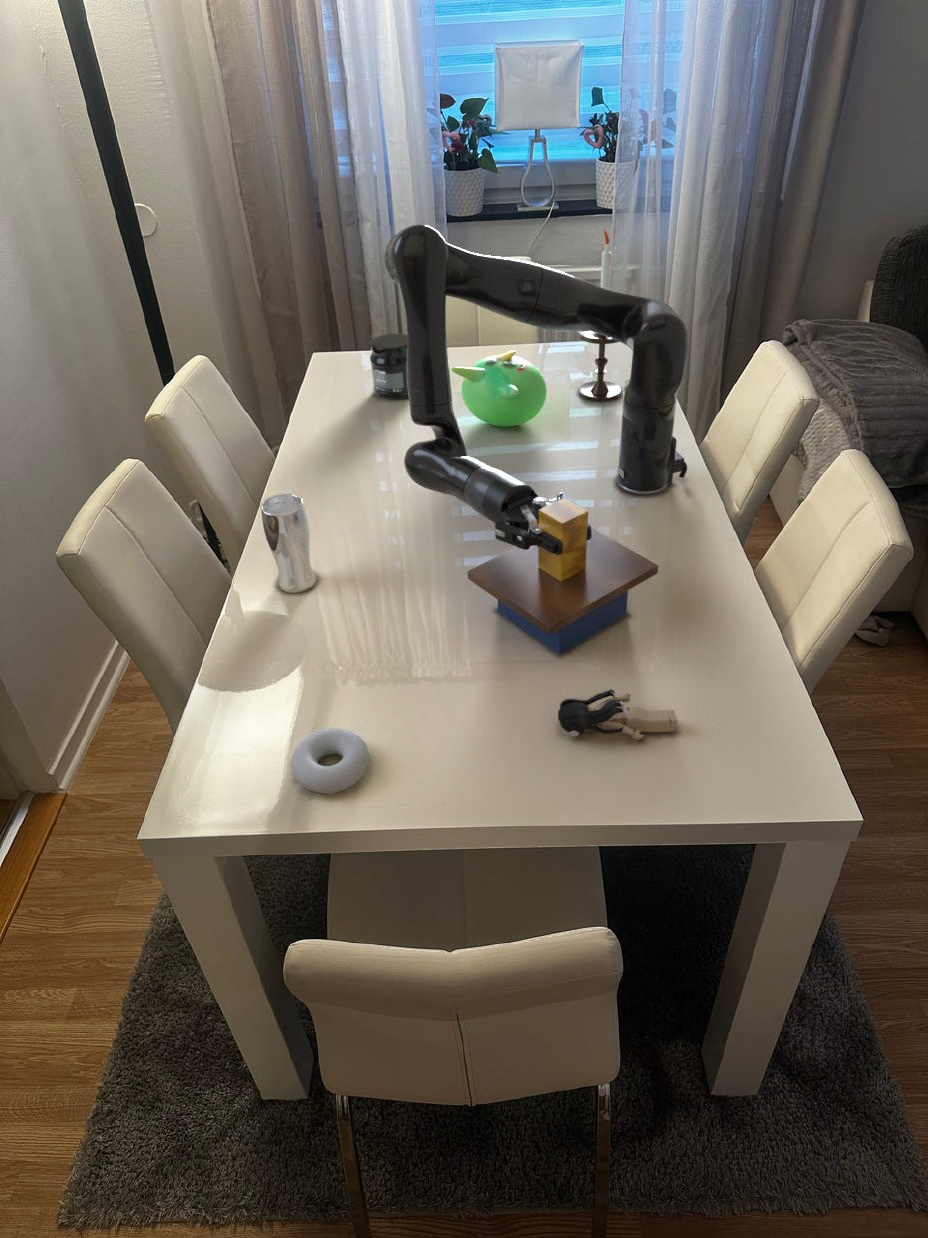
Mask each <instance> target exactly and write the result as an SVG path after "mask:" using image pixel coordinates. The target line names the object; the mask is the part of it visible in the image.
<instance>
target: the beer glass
mask: <svg viewBox="0 0 928 1238" xmlns="http://www.w3.org/2000/svg"><path fill="white" fill-rule="evenodd" d="M304 505H305V504H304V501H303V498H302V497H301V496H299V495H297V494H294V493H279V494H275V495H272V496H270V497H267V498H266V499H264V500H263V501H262V503H261V505H260V511H261V520H262V526H263V533H264V535H265V540H266V542H267V544H268V548H269V549H270V552H271V554H272V556H273V558H274V561H275V563H276V567H277V571H278V572H277V573H278V587H279V589H281V590H282V591H284V592H286V593H290V594H297V593H303V592H305V591H307V590H310V588H312V587H313V586H314V585H315V583H316V575H315V572H314V570H313V567H312V564H311V559H310V545H311V544H310V543H311V541H310V539H311V537H310V527H309V520H308V516H307V512H306V509H305V506H304Z"/></svg>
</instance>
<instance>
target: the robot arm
mask: <svg viewBox="0 0 928 1238" xmlns="http://www.w3.org/2000/svg"><path fill="white" fill-rule="evenodd" d="M383 256H384V258H383V259H384V265H385V269H386V271H387V274H388V275H389V277H390V278H391V280H392V281H393V282H394V283H395V284H396V285H398V286H399V288H400V291H401V297H402V301H403V306H404V311H405V321H406V335H407V385H408V396H409V397H408V404H409V415H410V418H411V421H412V423H413V424H415V425H416V426H421V427H430V428H431V430H432V432H433V434H434V437H435V439H428V440H424V441H419V442H415V443H414V444H412V445H411V446H409V448H408V449H407V450H406V452H405V454H404V460H403V464H404V468H405V472H406V473H407V475H408V477H409V478H410V479H411V480H412V481H413V482H414V483H415V484H417V485H418V486H420V487H422V488H424V489H426V490H430V491H433V492H437V493H440V494H444V495H449V496H452V497H455V498H456V499H458V500H459V501H461V502H462V503H464V504H466V505H467V506H469V507H470V508H471V509H473V510H474V511H475V512H476V513H478V514H479V515H481V516H483V517H484V518H485V519H488V520H489V521H490V522H492V523H494V537H495V540H498V541H501V542H503V543H506V544H508V545H511V546H513V547H518V548H521V549H524V550H528V549H529V548H530V546H533V545H534V546H535V547H542V548H543V549H545V550H547V551H548V552H550V553H553V554H556V555H560V554H562V553H563V542H562V541H561V540H559V539H557V538H556V537H554V536H552V535H551V534H549V533H547V532H543V533H542V529H541V528H540V527H539V510H540V509H542V508H544V507H546V506H548V505H551V504H553V503H555V502H557V501H559V500H561V499H563V498H565V499H567V500H569V501H570V502H572V503H574V504H576V505H578V504H577V503H576V502H575V501H574V500H573V499H571V498H570V497H569V496H568V495H567V494H566V493H565V492H558V493H557V494H556V498H551V499H549V498H546V497H541V496H539V495H538V494H537V493H536V492H535V490H534V488H533V487H531V486H530V485H528V484H527V483H525V482H523V481H521V480H519V479H518V478H516V477H514V476H512V475H510V474H509V473H507V472H505V471H503V470H501V469H499V468H496V467H492V466H491V465H489V464H487V463H485V462H483V461H481V460H480V459H478V458H475V457H472V456H468V453H467V448H466V445H465V441H464V439H463V436H462V434H461V431H460V427H459V425H458V421H457V417H456V416H455V415H456V414H455V413H454V409H453V408H454V407H453V395H452V385H451V373H450V364H449V363H450V362H449V353H448V352H449V351H448V342H447V323H446V322H447V320H446V319H447V316H446V315H447V313H446V312H447V308H446V307H447V297H450V298H455V299H459V300H462V301H465V302H468V303H470V304H473V305H475V306H478V307H480V308H483V309H485V310H486V311H489V312H492V313H495V314H496V315H500V316H502V317H505V318H508V319H511V320H513V321H517V322H519V323H522V324H526V325H529V326H533V327H536V328H539V329H544V330H548V331H552V332H577V331H589V332H594V333H598V334H601V335H604V336H607V337H609V338H612V339H614V340H617V341H619V342H618V343H621V344H623V345H625V346H627V347H628V348H629V349H630V351H632V354H631V356H632V357H631V358H632V359H631V367H630V377H628V378H627V379H626V381H625V382H624V386H623V398H622V411H621V412H622V414H621V429H620V443H619V456H618V457H619V458H618V465H617V466H616V467H617V469H616V472H617V479H616V482H617V487H619V488H620V489H621V490H622V491H624V492H626V493H629V494H632V495H636V496H652V495H657V494H659V493H663V491H665V490H666V489H667V488H668V487H671V486H673V477H674V474H675V473H679V474H678V478H681V479H684V478H685V476H686V473H687V471H688V465H687V462H686V461H685V457H683V456H682V455H681V454H680V453H679V452H678V451H677V438H676V437H675V436H673V435H674V427H675V418H676V417H675V416H676V406H677V398H678V391H679V390H680V388H681V386H682V383H683V379H684V373H685V366H686V359H687V353H688V341H689V339H688V337H689V336H688V328H687V326H686V324H685V322H684V321H683V319H682V318H681V317H680V315H678V313H676V311H675V310H674V309H673V308H672V307H671V306H670V305H669V304H668V303H665V302H664V301H661V300H659V299H655V298H650V297H644V296H638V295H633V294H628V293H623V292H618V291H614V290H610V289H609V290H607V289H604V288H602V287H601V286H599V285H596V284H594V283H593V282H590V281H587V280H585V279H582V278H579V277H577V276H574V275H571V274H569V273H565V272H563V271H560V270H557V269H554V268H550V267H547V266H545V265H541V264H538V263H534V262H530V261H526V260H520V259H514V258H509V257H501V256H491V255H483V254H479V253H474V252H470V251H468V250H465V249H462V248H461V247H457V246H455V245H452V244H450V243H447V242H446V241H445V238H444V237H443V236H442V234H441V233H440V232H439V231H438V230H437V229H435V228H434V227H431V226H429V225H426V224H421V223H420V224H413V225H410V226H407V227H405V228H403V229H401V230H400V231H398V232H397V233H396V234H394V235H393V236H392V237H391V239H390V240H389V242H388V243H387V245H386V247H385V251H384V255H383ZM591 528H592V525H591V524H589V523H588V526H587V540H589V539H591V535H592V529H593V528H592V529H591ZM519 537H520V539H519Z"/></svg>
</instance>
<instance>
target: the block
mask: <svg viewBox="0 0 928 1238" xmlns="http://www.w3.org/2000/svg"><path fill="white" fill-rule="evenodd" d="M576 504H577V503H576ZM576 504H574V503H572V502H570V501H569V500H567V499H565V498H563V499H561V500H559V501H557V502H555V503H553V504H551V505H548V506H546V507H544V508H542V509H540V510H539V527H540V528H541V529H542V533H543V532H547V533H549V534H551V535H552V536H554V537H556V538H557V539H559V540H561V541H562V542H563V553H562V554H560V555H556V554H553V553H550V552H548V551H547V550H545V549H543V548H542V547H538V567H539V568H540V569H542V570H543V571H545V572H546V573H548V574H550V575H551V576H553V577H554V578H556V579H557V580H559V581H561V582H562V581H564V580H565V579H567V578H569V577H571V576H573V575H575V574H577V573H579V572H580V571H582V570H584V569H586V548H587V526H588V524H589V522H588V521H589V520H588V519H589V511H588V510H587V509H585V508H583V507H582V506H579V504H577V505H576Z"/></svg>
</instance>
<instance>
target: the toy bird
mask: <svg viewBox="0 0 928 1238" xmlns="http://www.w3.org/2000/svg"><path fill="white" fill-rule="evenodd" d="M516 352H517V350H510V351H507V352H504V353H501V354H499V355H498V354H497V355H490V356H487V357H485V358H482V359H480V360H478V361H477V362H475V363H473V364H472V366H470V367H468V366H453V367H452V368H451V369H450V371H451V372H453V374H456V375H458V376H460V377H461V378H463V381H462V385H461V396H462V400H463V402H464V405H465V407H466V408H467V409H468V411H469V412H470V413H471V414H472V415H473V416H474V417H476V418H477V419H478V420H480V421H482V422H484V423H486V424H489V425H492V426H496V427H515V426H520V425H523V424H525V423H528V422H529V421H531V420H533V419H534V418H535V417H536V416H537V415H538V414H539V413H540V412H541V410H542V408H543V407H544V404H545V401H546V398H547V385H546V381H545V378H544V376H543V374H542V373H541V372H540V370H539V369H538V367H537V366H535V365H534V364H533V363H531V362H529V361H528V360H526V359H524V358H522V357H519V356H515V355H516Z"/></svg>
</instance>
